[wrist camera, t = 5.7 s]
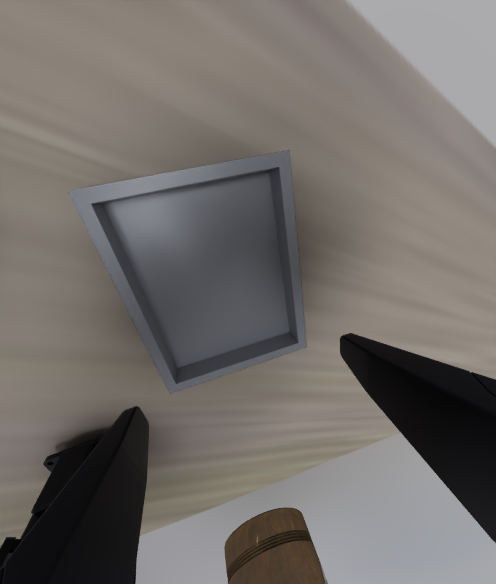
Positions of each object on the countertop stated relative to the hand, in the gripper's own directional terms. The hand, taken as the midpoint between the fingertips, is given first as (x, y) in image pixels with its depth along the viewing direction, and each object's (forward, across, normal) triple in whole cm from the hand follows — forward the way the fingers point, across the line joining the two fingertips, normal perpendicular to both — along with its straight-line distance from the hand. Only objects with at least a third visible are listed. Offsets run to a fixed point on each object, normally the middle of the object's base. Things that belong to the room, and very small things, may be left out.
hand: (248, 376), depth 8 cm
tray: (+11, 0, 0) cm, 11 cm away
